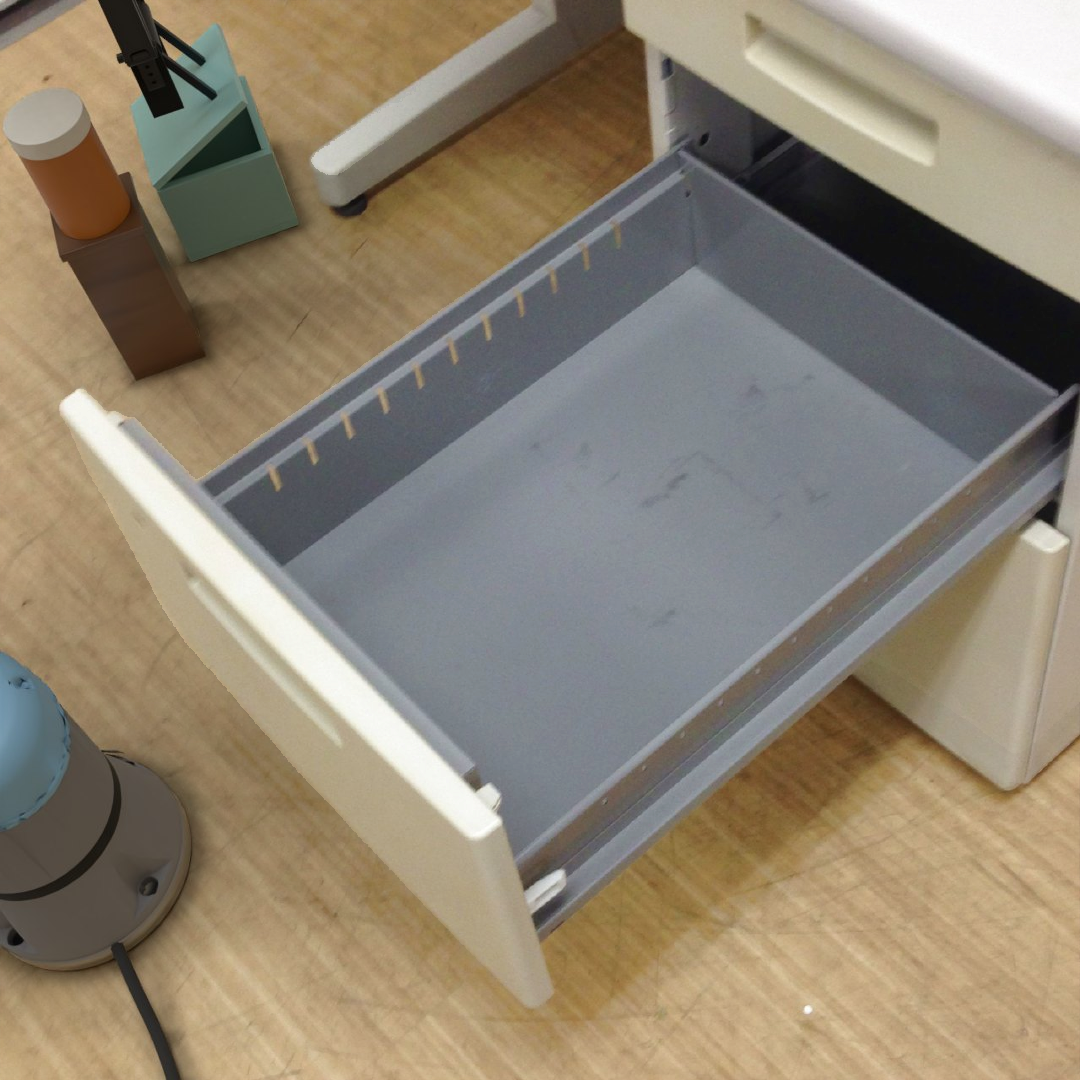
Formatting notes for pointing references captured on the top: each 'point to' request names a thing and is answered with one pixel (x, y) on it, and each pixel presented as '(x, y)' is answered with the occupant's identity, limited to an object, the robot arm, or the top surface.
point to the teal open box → (229, 189)
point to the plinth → (135, 291)
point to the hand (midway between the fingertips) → (161, 86)
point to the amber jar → (67, 162)
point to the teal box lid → (188, 100)
